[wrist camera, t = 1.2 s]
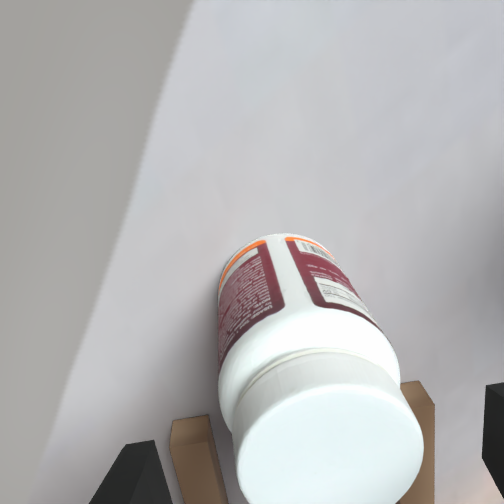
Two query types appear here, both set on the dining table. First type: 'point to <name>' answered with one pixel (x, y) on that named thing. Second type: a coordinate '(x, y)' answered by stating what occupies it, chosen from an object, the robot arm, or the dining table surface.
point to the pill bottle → (309, 382)
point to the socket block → (209, 473)
